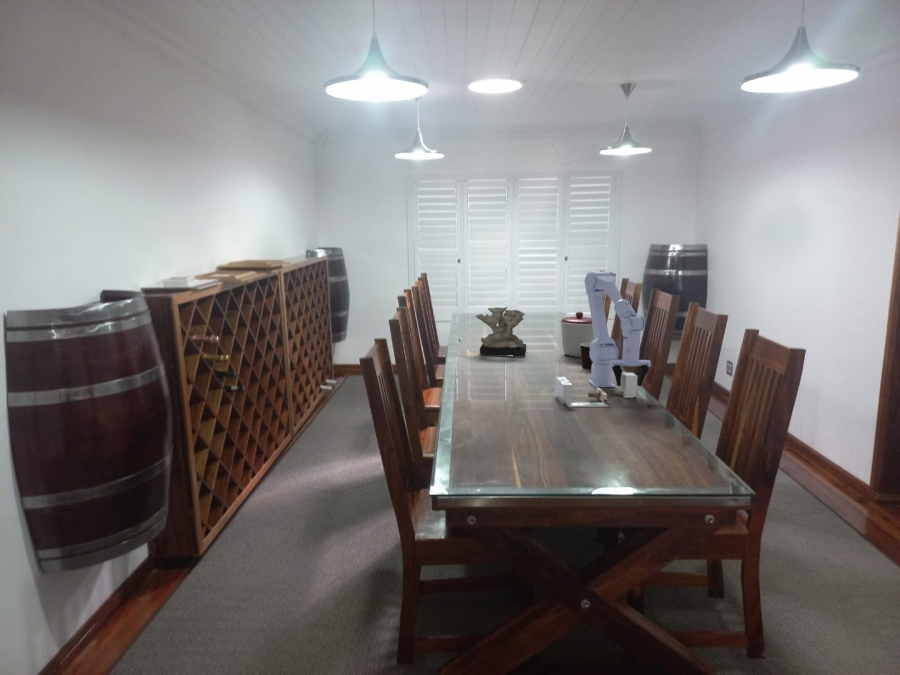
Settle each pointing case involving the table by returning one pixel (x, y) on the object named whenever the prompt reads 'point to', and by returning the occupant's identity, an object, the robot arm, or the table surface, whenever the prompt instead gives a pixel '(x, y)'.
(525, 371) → the table surface
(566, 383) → the frame
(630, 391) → the block
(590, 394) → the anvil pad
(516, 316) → the coral
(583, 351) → the coffee mug
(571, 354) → the canister
